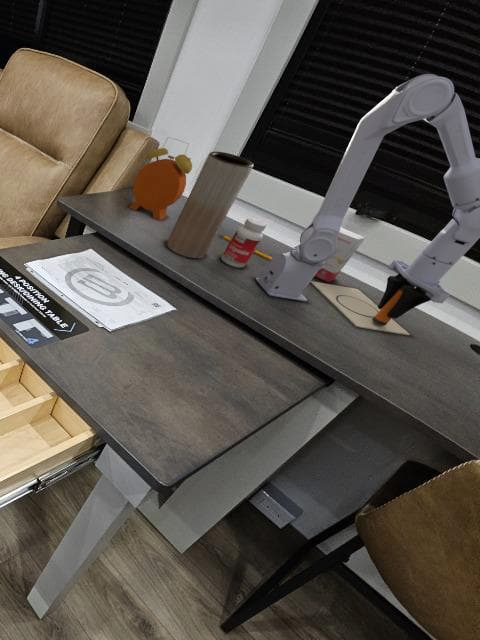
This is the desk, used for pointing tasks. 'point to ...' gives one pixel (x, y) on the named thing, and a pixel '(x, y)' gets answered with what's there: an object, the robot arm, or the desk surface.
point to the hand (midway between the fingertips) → (386, 313)
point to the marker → (388, 307)
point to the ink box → (340, 254)
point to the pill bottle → (244, 243)
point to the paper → (356, 307)
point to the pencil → (254, 251)
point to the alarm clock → (160, 182)
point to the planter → (208, 203)
